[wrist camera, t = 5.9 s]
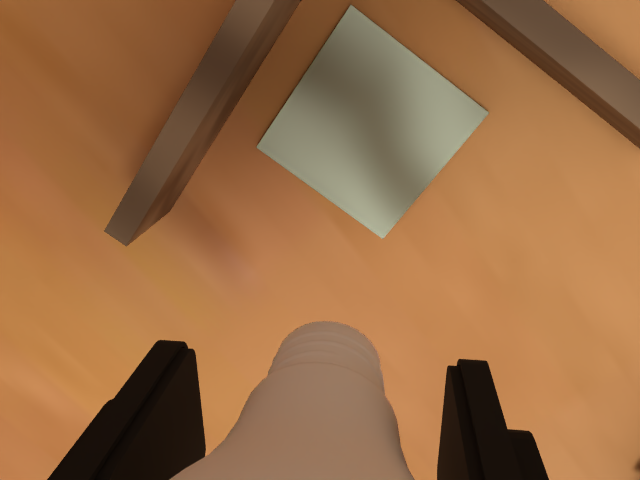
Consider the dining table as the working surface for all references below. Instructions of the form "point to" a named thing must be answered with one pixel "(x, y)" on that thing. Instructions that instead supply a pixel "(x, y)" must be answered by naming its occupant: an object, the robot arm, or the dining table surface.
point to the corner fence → (361, 108)
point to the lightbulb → (313, 416)
